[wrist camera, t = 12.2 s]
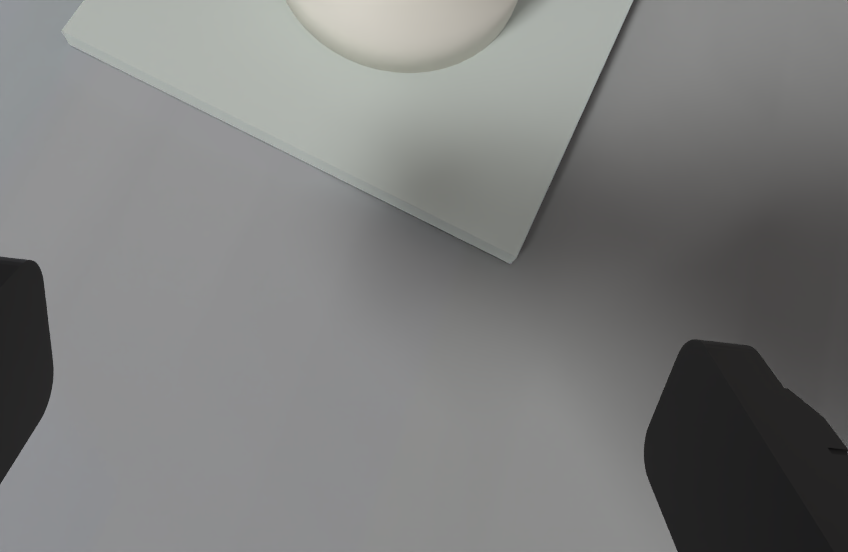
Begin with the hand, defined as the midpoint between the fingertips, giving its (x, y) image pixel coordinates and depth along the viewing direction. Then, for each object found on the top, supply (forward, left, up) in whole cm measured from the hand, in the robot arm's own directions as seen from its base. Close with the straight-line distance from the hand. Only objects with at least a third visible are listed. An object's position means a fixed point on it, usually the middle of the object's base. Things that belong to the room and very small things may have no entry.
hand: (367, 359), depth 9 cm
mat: (-4, +11, -8) cm, 14 cm away
